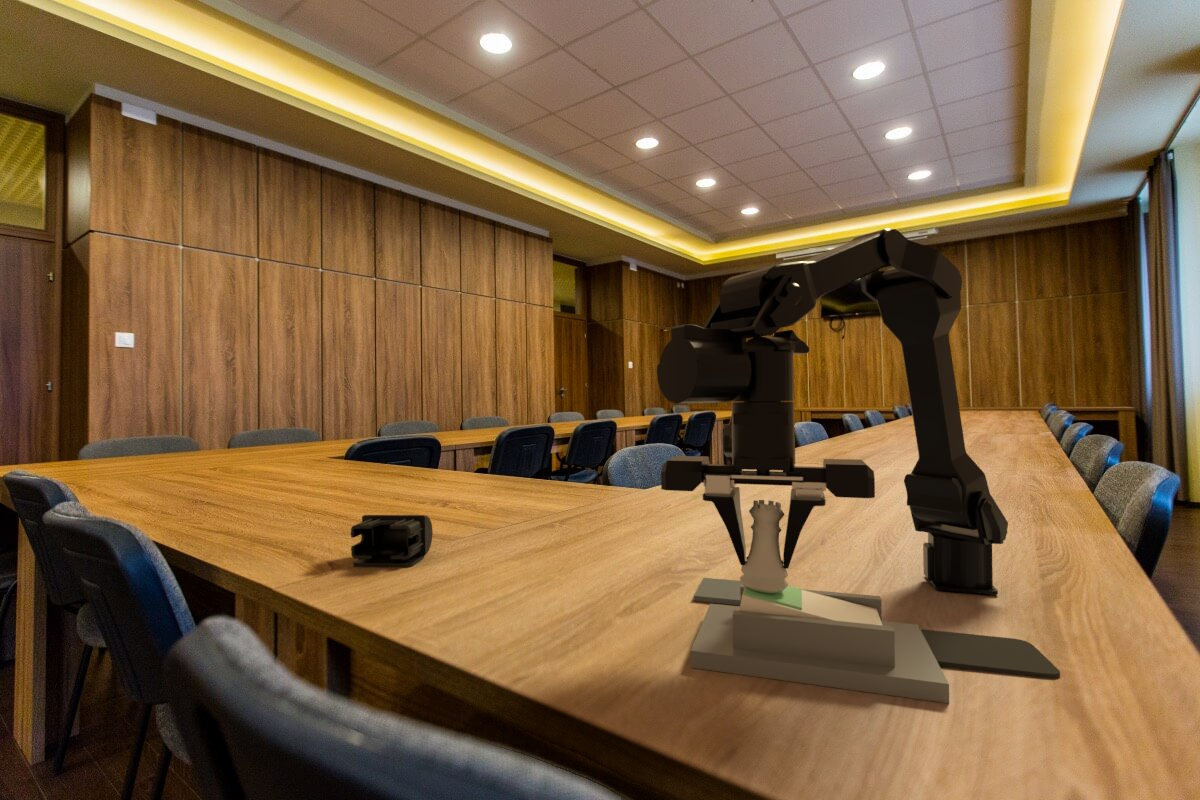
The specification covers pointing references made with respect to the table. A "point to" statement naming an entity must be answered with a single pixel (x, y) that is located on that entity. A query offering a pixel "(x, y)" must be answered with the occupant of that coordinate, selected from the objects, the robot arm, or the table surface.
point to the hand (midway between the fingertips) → (764, 565)
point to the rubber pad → (719, 591)
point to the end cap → (391, 540)
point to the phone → (989, 654)
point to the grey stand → (821, 650)
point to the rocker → (807, 606)
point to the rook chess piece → (765, 551)
